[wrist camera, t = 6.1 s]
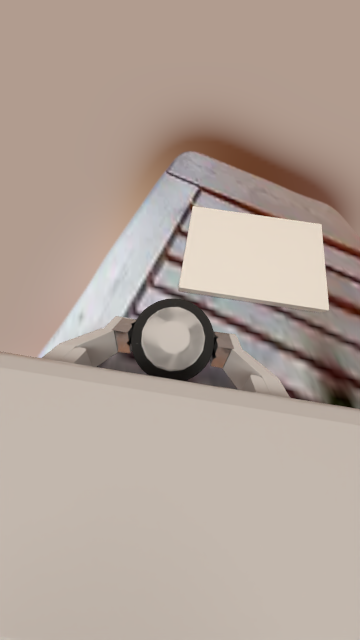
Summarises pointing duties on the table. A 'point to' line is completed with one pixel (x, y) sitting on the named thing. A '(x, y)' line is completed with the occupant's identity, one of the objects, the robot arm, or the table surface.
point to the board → (255, 260)
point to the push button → (172, 339)
